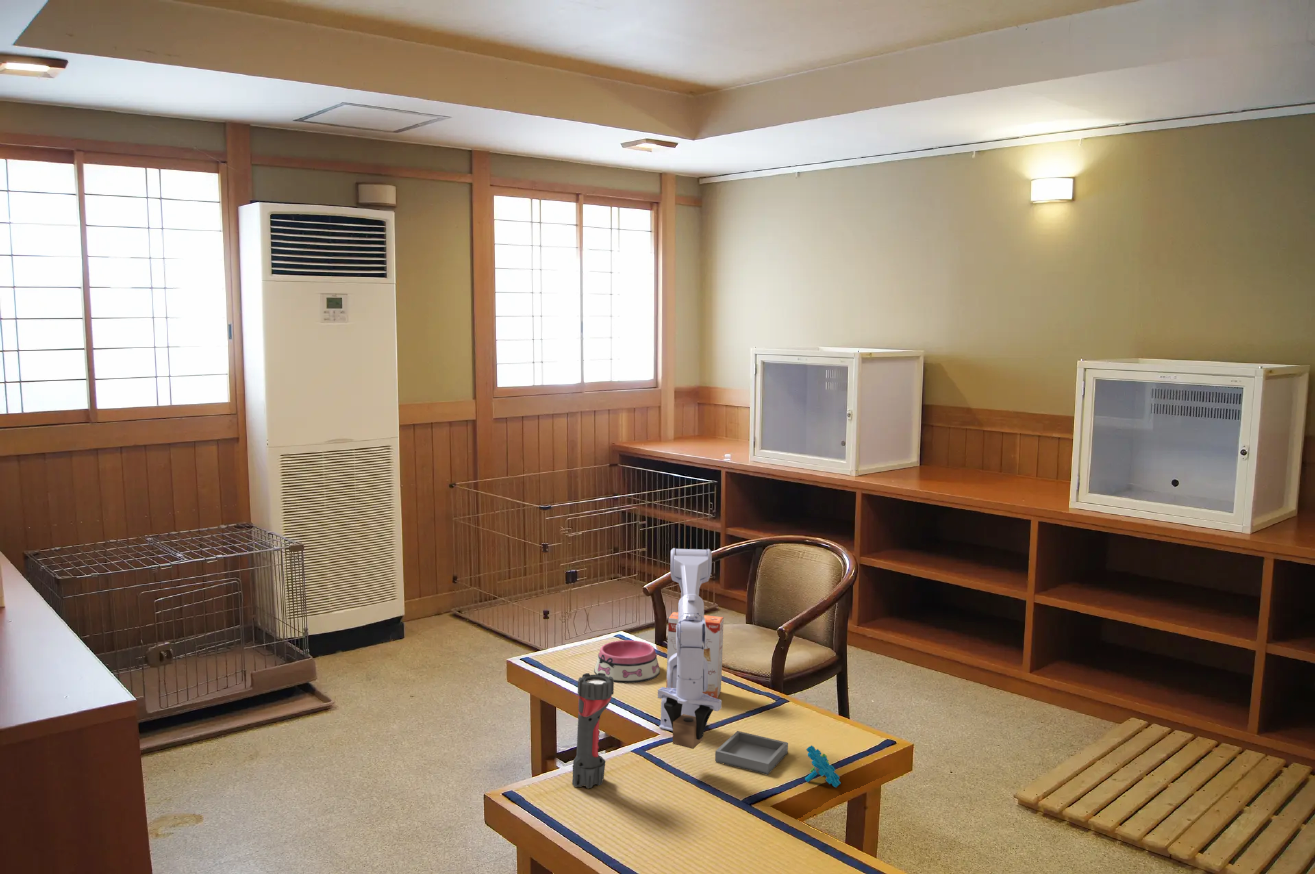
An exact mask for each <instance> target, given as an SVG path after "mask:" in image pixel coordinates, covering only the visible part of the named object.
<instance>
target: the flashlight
mask: <svg viewBox="0 0 1315 874" xmlns="http://www.w3.org/2000/svg"><path fill="white" fill-rule="evenodd" d="M614 685H615V682H614V679H613V677H611V676H610V677H607V676H605V674H604V673H598V674H597V675H596V674H590V672H587V673H583V674H582V676H581V677H579V678H578V680H577V695H578V701H577V702H578V704H577V708H578V709H577V710H578V713H577V714H578V715H577V734H576V735H577V736H576V756H575V757H574V759H573V763H572V782H571V783H572V786H573V787H574V788H581V787H583V786H584V787H586V789H592V788H593V786H595V785H596V786H601V785H602V784H603V782H604V781H603V780H604V778H605V770H606V769H605V767H606V760H605V759H604V758H603V757H602V756H601V755H600V754H599V749H600V746H599V742H600V737H599V736H600V732H601V731H600V730H599V729H600V719H601V716H602V714H603V712H604V711H605V710H606V709H607V707H608V706H609V705H610V702H611V700H612V696H613V695H614V691H615V690H614V688H615V686H614Z"/></svg>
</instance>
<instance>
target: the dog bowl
mask: <svg viewBox="0 0 1315 874" xmlns="http://www.w3.org/2000/svg"><path fill="white" fill-rule="evenodd" d="M657 656H658V655H657V652H656V650H655V647H654V646H653V645H651V644H650V643H647V642H644V641H640V640H634V639H633V640H631V639H629V640H628V639H625V640H623V639H621V640H615V641H611V642H608V643H605V644H604V645H602V646H601V647H600V650H599V653H598V654H597V660H596V662H595V667H594V670H593V671H594V672H593V673H594V675H597V674H598V673H604V674H605V676H607V677H610V676H611V677H613V679H614V683H621V684H634V683H635V684H636V683H645V682H647V681H651V680H653V679H656V678H657V677H658V676H659V675H660V673H661V670H660V665H659V660H658V658H657Z"/></svg>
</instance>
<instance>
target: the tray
mask: <svg viewBox="0 0 1315 874" xmlns="http://www.w3.org/2000/svg"><path fill="white" fill-rule="evenodd" d="M788 752H789V742H786V741H784V740H783V741H782V740H779V739H774V738H769V737H765V736H762V735H758V734H757V735H756V734H753V733H748V732H743V731H740V730H737V731H736V732H734V733H733V734H732V735H731V736H730V737H728V739H726V741H725V742H724V743H722V744H721V745H720V746H719V747H718V748H717V749H716V750H715V754H714V757H715V758H714V762H715V761H716V763H718V762H719V764H722V763H724V764H723V765H727V766H731V767H734V768H739V769H742V770H746V771H749V772H750V771H751V772H755V773H757V774H763V775H766V776H768V775H769V774H770V773H771V772H772V771H773V770H774V768H776V767H777V765H778V764H779V763H780V762H781V761H782V760H783V759H784V758H785V757H786V755H787V754H788Z"/></svg>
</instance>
